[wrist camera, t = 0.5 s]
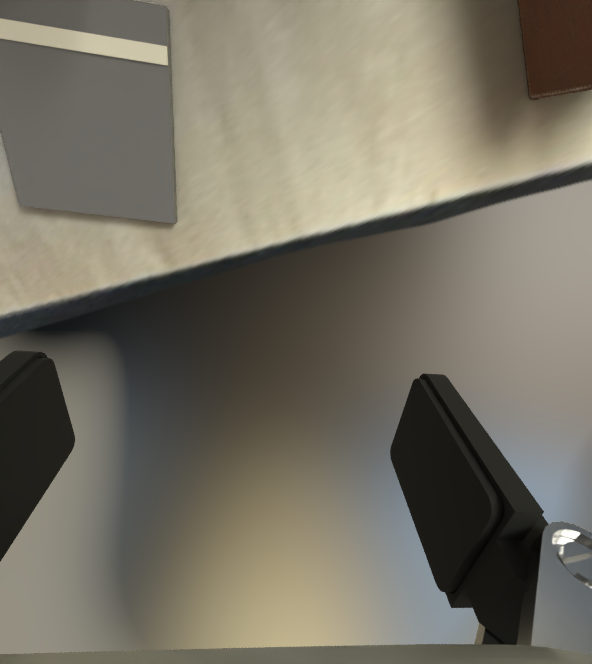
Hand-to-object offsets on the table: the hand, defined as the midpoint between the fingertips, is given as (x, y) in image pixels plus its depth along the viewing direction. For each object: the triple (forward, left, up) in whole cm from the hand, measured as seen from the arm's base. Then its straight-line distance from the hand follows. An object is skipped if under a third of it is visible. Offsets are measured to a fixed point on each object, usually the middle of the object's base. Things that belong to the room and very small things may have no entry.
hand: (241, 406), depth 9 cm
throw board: (-6, -16, -29) cm, 33 cm away
